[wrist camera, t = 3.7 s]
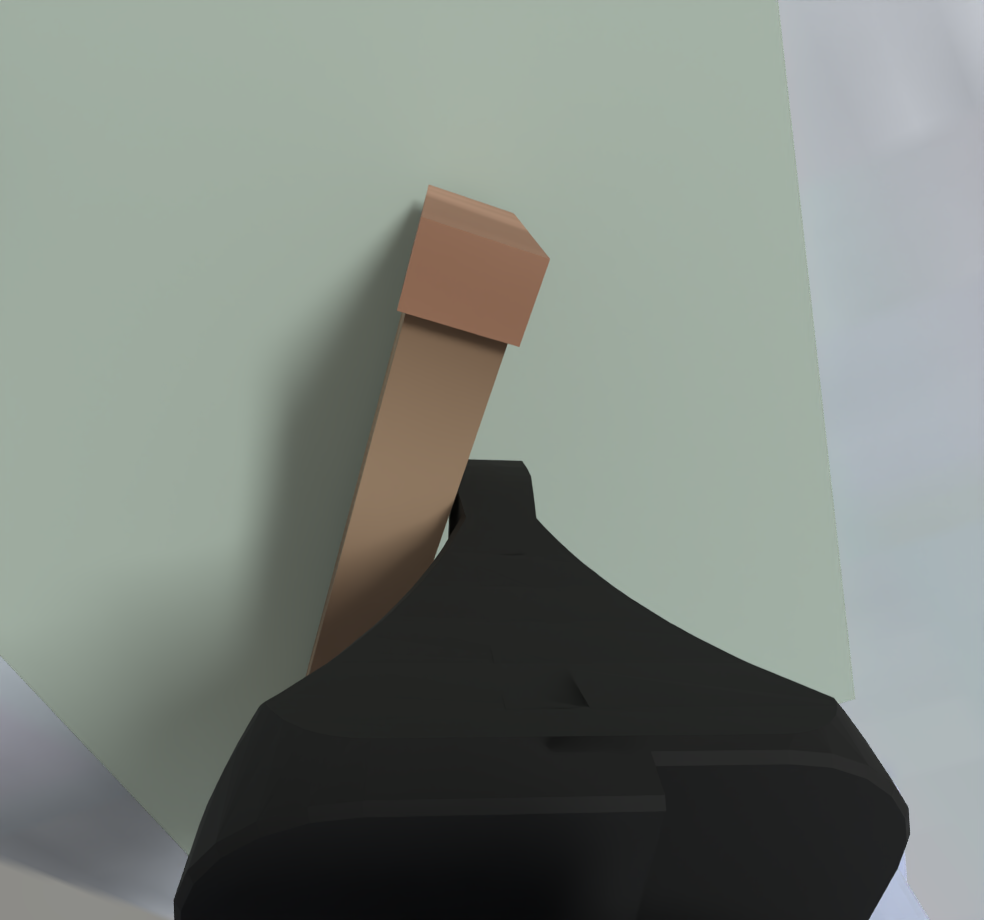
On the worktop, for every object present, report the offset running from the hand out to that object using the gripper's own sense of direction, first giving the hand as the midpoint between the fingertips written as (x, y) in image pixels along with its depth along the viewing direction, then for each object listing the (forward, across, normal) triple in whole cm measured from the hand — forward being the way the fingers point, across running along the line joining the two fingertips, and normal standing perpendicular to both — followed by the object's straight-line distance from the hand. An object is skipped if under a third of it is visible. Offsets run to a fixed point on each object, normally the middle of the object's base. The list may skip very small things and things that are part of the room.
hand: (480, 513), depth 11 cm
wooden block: (+2, +2, +2) cm, 3 cm away
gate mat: (+3, +2, 0) cm, 4 cm away
